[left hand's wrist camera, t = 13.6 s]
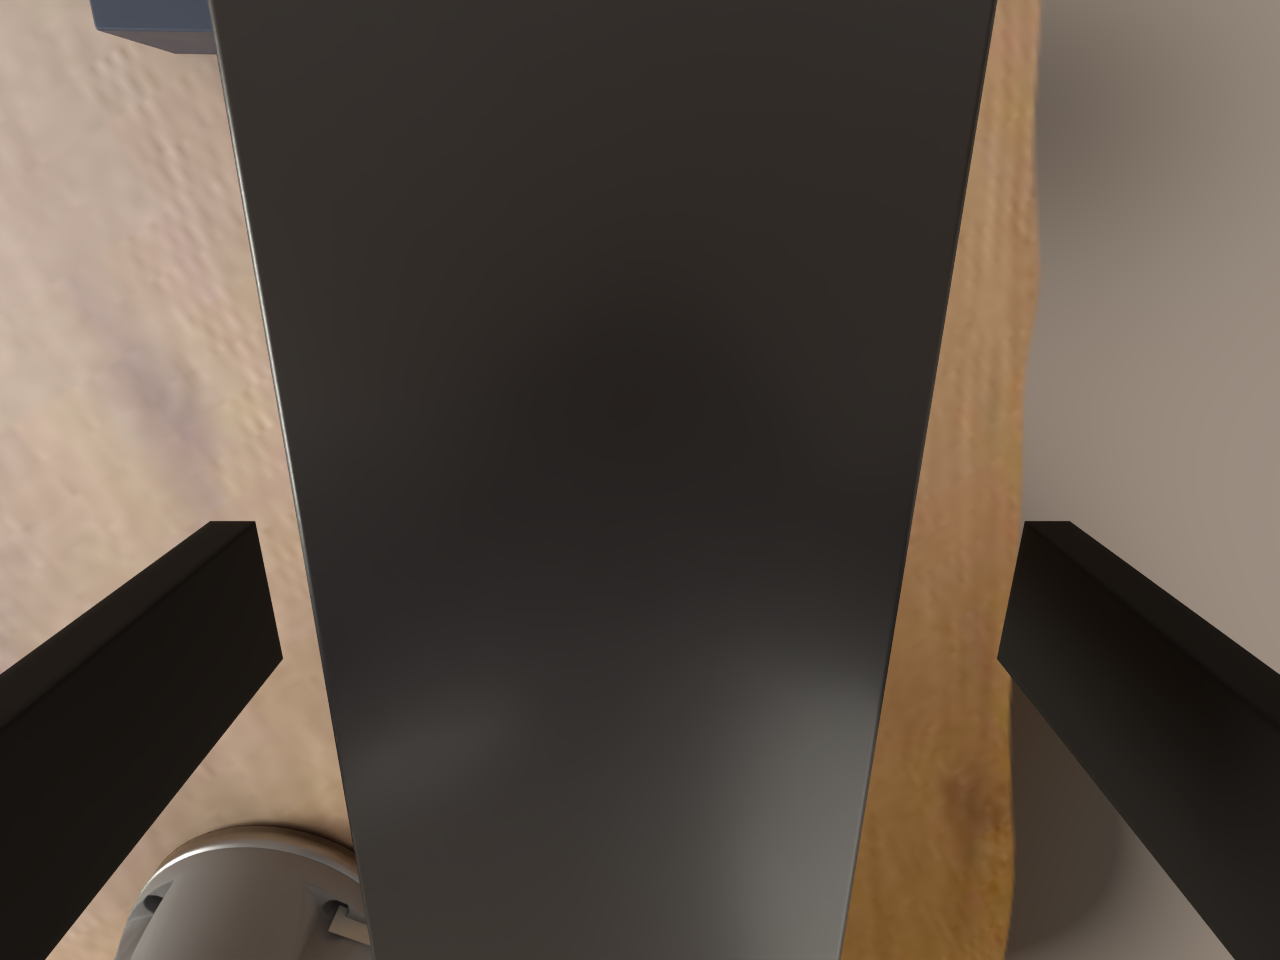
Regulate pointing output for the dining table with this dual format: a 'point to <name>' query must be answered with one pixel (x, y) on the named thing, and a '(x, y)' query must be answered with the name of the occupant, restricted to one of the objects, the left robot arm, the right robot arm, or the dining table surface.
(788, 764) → the block
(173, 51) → the cube
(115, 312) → the dining table surface
